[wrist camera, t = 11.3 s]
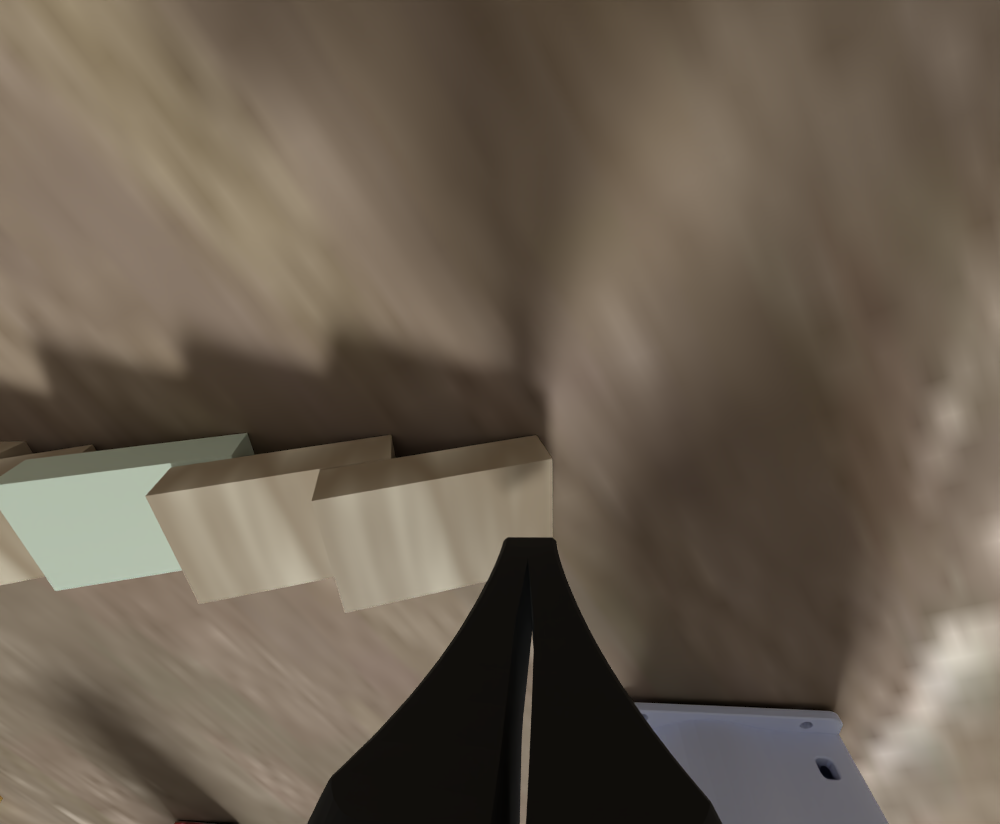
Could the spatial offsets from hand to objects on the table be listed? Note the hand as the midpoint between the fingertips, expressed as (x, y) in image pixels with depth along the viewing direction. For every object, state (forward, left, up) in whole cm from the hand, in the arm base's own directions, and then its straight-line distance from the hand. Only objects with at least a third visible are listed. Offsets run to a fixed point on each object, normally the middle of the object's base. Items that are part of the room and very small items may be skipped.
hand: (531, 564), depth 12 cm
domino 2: (+5, 0, -3) cm, 6 cm away
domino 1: (0, 0, -3) cm, 3 cm away
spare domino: (+10, 0, -3) cm, 11 cm away
